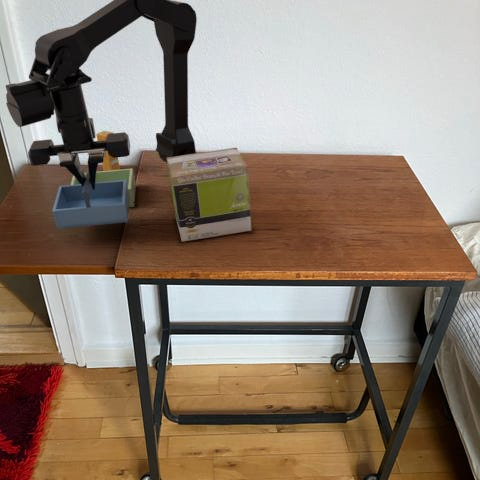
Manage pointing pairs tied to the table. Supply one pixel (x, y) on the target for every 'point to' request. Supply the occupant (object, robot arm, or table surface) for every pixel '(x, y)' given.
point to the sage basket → (116, 176)
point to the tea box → (210, 193)
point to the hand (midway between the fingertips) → (90, 189)
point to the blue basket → (91, 204)
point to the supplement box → (108, 161)
